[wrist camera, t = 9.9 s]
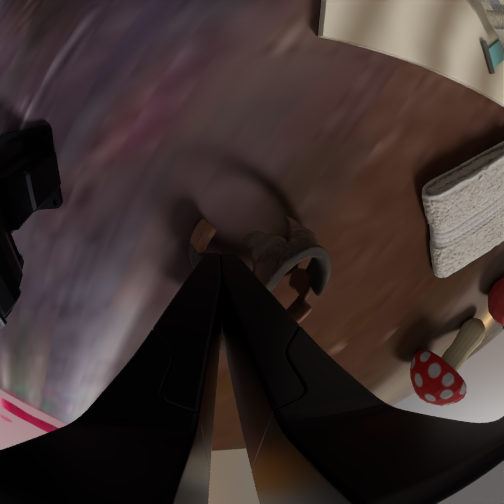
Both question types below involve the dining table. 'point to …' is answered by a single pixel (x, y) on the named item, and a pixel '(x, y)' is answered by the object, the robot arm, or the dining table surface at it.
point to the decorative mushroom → (446, 367)
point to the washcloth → (465, 211)
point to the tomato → (497, 302)
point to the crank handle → (495, 18)
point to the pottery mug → (277, 261)
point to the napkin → (424, 37)
